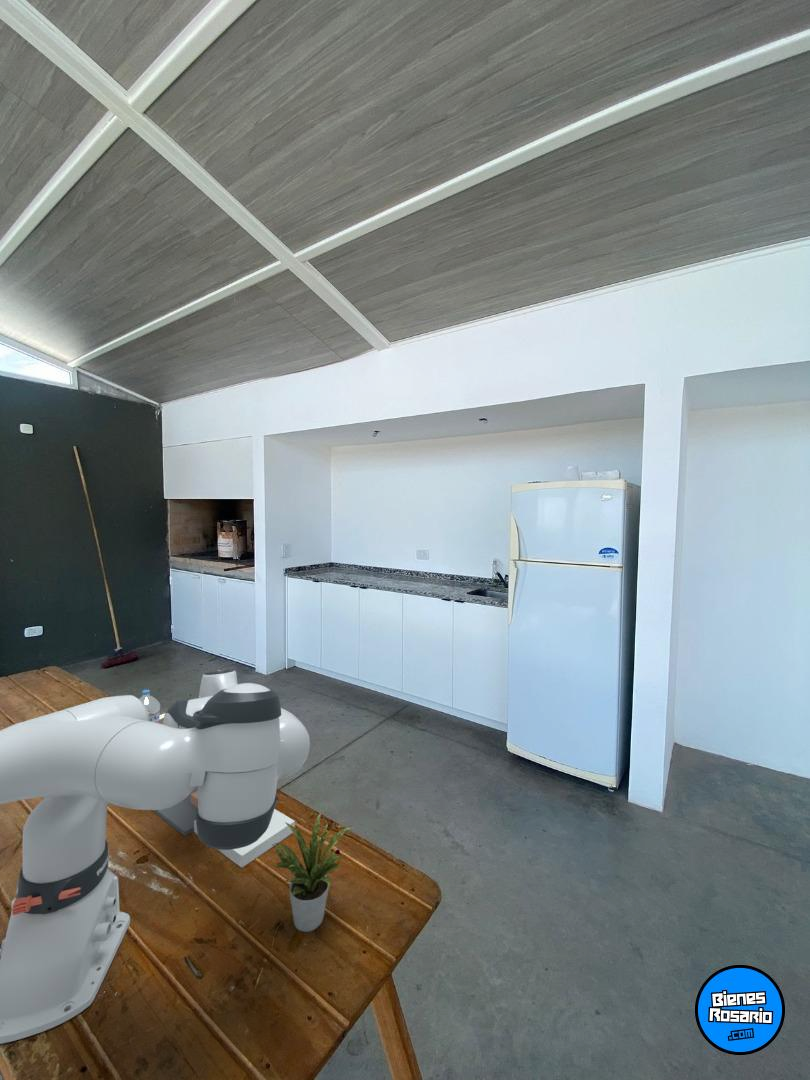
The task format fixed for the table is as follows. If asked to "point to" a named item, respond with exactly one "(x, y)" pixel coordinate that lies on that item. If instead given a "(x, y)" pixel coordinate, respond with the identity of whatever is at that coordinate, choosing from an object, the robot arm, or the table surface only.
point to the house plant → (309, 876)
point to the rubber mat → (180, 815)
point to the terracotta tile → (194, 799)
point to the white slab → (261, 840)
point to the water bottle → (151, 706)
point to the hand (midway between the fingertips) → (216, 791)
